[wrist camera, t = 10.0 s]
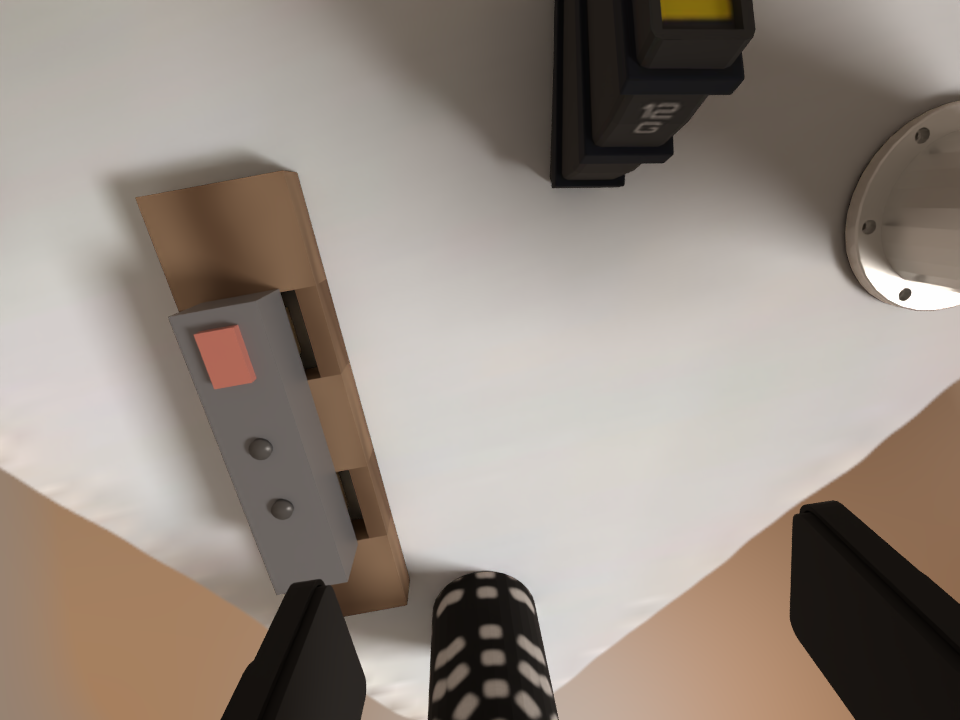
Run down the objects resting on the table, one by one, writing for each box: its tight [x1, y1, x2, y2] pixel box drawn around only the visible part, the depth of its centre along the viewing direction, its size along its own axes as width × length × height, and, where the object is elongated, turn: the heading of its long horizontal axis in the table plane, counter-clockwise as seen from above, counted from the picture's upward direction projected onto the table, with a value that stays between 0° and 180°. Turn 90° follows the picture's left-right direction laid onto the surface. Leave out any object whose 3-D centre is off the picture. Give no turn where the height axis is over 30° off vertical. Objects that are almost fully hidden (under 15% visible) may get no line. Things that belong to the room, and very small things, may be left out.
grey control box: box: [168, 289, 358, 595], centre depth 30 cm, size 4×18×7 cm, turn 10°
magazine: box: [550, 0, 756, 188], centre depth 22 cm, size 4×13×15 cm, turn 1°
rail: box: [136, 170, 410, 617], centre depth 32 cm, size 8×30×2 cm, turn 10°
